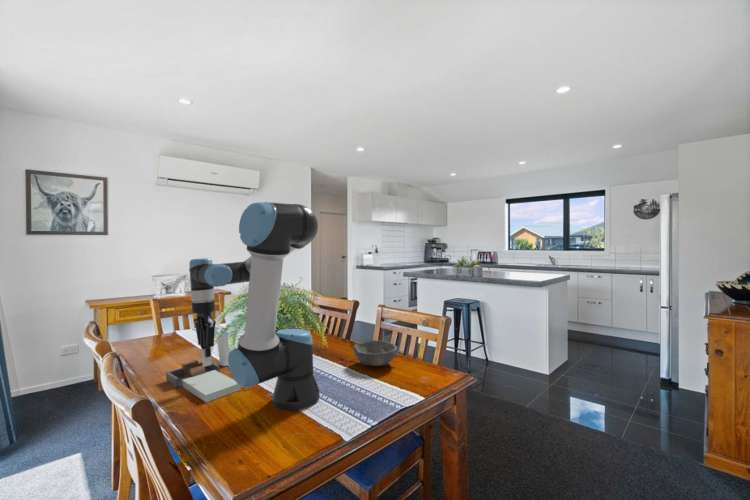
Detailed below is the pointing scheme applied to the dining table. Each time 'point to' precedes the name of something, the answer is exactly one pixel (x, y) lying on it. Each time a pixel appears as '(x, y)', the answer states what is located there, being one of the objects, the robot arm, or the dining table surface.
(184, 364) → the tile
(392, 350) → the bowl
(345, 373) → the dining table surface
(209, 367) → the tray
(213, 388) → the board
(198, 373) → the tile
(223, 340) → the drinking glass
